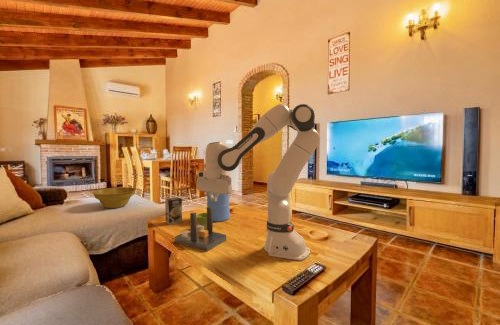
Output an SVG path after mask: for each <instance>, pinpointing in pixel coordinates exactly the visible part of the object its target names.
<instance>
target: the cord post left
mask: <svg viewBox="0 0 500 325" xmlns="http://www.w3.org/2000/svg"><path fill="white" fill-rule="evenodd" d="M196 215H197V213H196V212H191V213H190V215H189V217H190V218H189V219H190V220H189V221H190V227H189V229H190V230H191V241H196V240H197V216H196Z"/></svg>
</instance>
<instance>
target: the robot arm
mask: <svg viewBox="0 0 500 325" xmlns="http://www.w3.org/2000/svg"><path fill="white" fill-rule="evenodd" d="M315 117H316V114H315V111H314V109H313V108H312V106H310V105H309V104H305V103H300V104H297V105H296V106H295V107H293V109H290V108H289V107H288V106H287V105H286V104H284V103H278V104H276V105H274V106H273V107H271V108H270V109H269V110H267V112H264V114H262V116H261V117H260V118H258V120H257V121H256V122H255V123H254V125H253V126H252V128H251V129H250V131H248V133H247V134H246V135H245V136H244V137H243V138H241V139H240V140H239V141H238V142H237V143H236V144H234V145H233V146H231V147H229V146H228V145H226V144H224V143H223V142H222V141H214V142H210V143H208V144H207V145H206V148H205V158H204V159H205V170H203V171H198V172H197V174H196V176H197V180H196V189H197V191H200V192H206V193H207V192H209V195H210V197H211V201H217V197H218V196H219V193H220V194H226V195H228V194H230V195H231V194H232V192H233V185H232V178H231V176H229V175H226V174H224V171H225V172H232V171H234V170H235V169H237V168H238V166H239V165H240V164H241V163H242V159H243V157H244V156H245V155H246V154H248V153H249V152H250V151H251V150H252V149H253V148H254V147H256V146H257V145H258V144H260V143H262V142H265V141H267V140H269V139H272V137H274V136H276V134H278V133H279V132H280V131H281V130H282V129H283V128H284V127H287V126H288V127H289V128H291V129H292V130H293V131H296V132H297V134H296V136H295V138H294V140H293V141H292V143H291V144H290V145H289V147H288V149H287V150H286V151H285V152H284V154H283V156H282V158H281V160H280V162H279V163H278V166H277V167H276V168H275V170H273V171H271V172H270V173H269V174H268V176H267V179H266V188H267V189H266V190H267V193H266V194H267V220H266V238H265V239H266V240H265V244H264V246H263V248H264V249H263V250H264V251H265V252H267V254H268V256H269V257H273V258H279V259H280V258H282V259H288V260H292V261H294V260H295V261H304V260H307V258H308V257H309V256H310V255H311V248H309V247H308V246H306V240H305V239H304V237H303V236H302V235H301V234H299V233H298V232H297V231H296V230H295V229H294V228H295V225H296V224H295V223H292V222H291V221H292V220H291V199H290V193H291V192H292V190H293V187H294V185H295V184H296V182H297V180H298V178H299V176H300V174H301V172H302V170H303V169H304V167H305V166H306V165H307V163H308V161H309V160H310V159H311V157H312V155H313V154H314V152H315V150H316V149H317V147H318V145H319V143H320V141H321V135H320V133H319V132H318V130H316V129H314V127H315V120H316V119H315ZM213 193H214V195H215V197H214V196H213ZM309 254H310V255H309Z"/></svg>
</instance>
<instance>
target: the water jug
mask: <svg viewBox="0 0 500 325" xmlns="http://www.w3.org/2000/svg"><path fill="white" fill-rule="evenodd" d="M230 195H231V194H228V195H226V194H220V193H219V196H218V197H217V201H211V197H210V195H209V192H207V191H206V197H207V198H206V199H207V200H206V201H207V202H206V208H207V207H212V222H215V223H216V222H217V223H218V222H219V223H220V222H224V221H225V222H226V221H228V220H229V219H230V217H231V215H230V214H231V213H230V210H231V209H230ZM213 196H214V197H215V195H214V193H213Z"/></svg>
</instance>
